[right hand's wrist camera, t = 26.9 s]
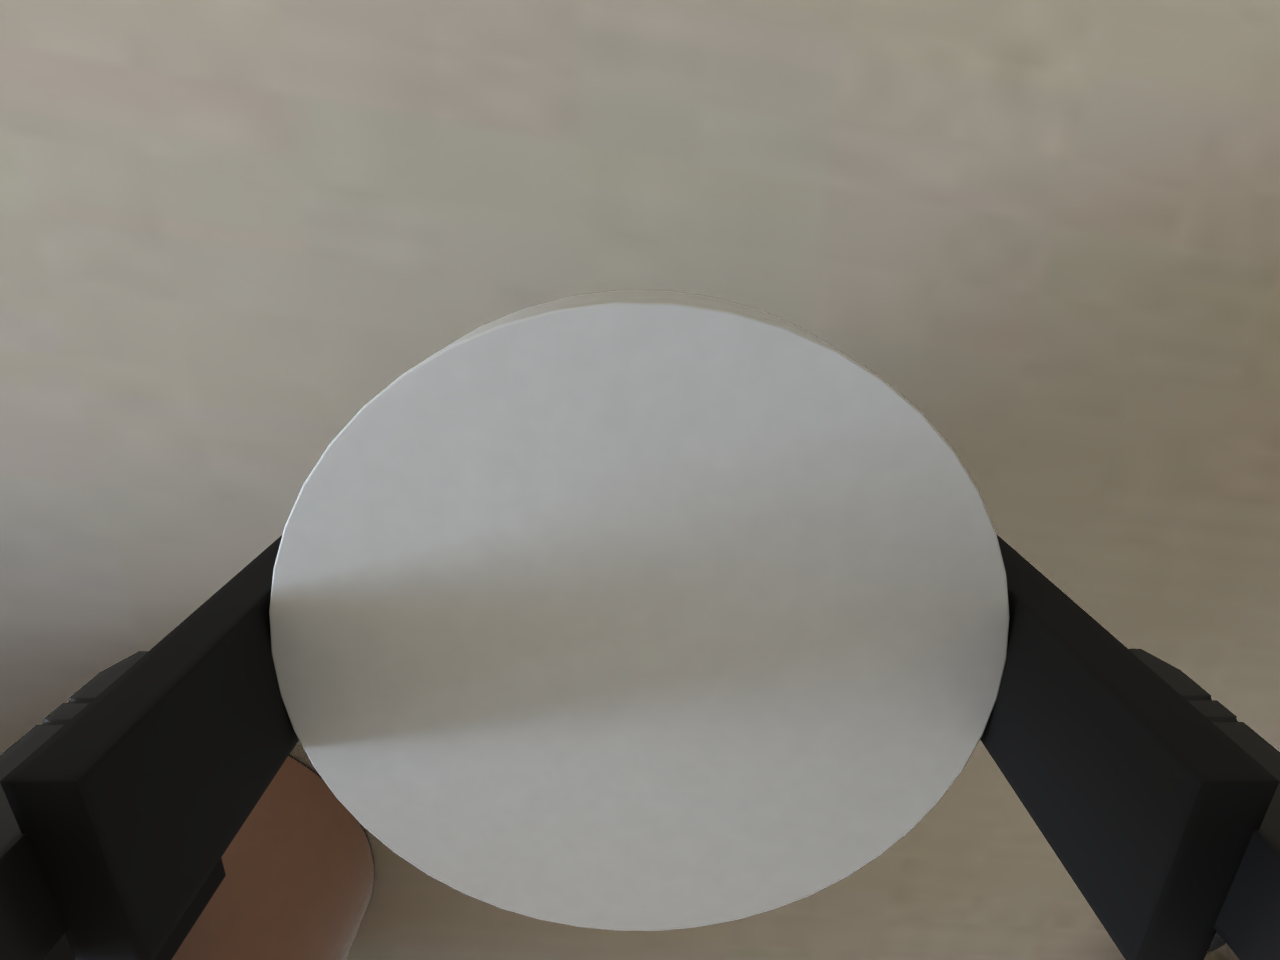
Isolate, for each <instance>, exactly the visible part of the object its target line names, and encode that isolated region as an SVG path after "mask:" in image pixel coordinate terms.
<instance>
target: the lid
mask: <svg viewBox="0 0 1280 960" xmlns="http://www.w3.org/2000/svg"><path fill="white" fill-rule="evenodd" d="M269 617H270V634H271V651H272V657H273V661H274V666H275V670H276V675H277V679H278V684H279V688H280V693H281V697H282V699H283V702H284V705H285V707H286V710H287V713H288V715H289V718H290V721H291V723H292V726H293V729H294V731H295V733H296V735H297V737H298V739H299V741H300V742H301V744H302V746H303V748H304V750H305V752H306V753H307V755H308V757H309V759H310V761H311V763H312V764H313V766H314V768H315V769H316V770H317V772H318V773H319V774H320V776H321V777H322V779H323V780H324V781H325V783H326V784H327V785H328V787H329V788H330V790H331V791H332V792H333V794H334V795H335V796H336V798H337V799H338V800H339V801H340V802H341V803H342V804H343V805H344V806H345V807H346V809H347V810H348V811H349V812H350V813H351V814H352V815H353V816H354V817H355V818H356V819H357V820H358V821H359V822H360V823H361V825H362V826H363V827H364V828H366V829H367V830H368V831H369V832H370V833H372V834H373V835H374V836H375V837H376V838H377V839H379V840H380V841H381V842H382V843H383V844H385V845H386V846H387V847H388V848H389V849H391V850H392V851H393V852H394V853H396V854H397V855H399V856H400V857H402V858H403V859H405V860H406V861H408V862H409V863H410V864H412V865H413V866H415V867H416V868H418V869H419V870H421V871H422V872H424V873H425V874H427V875H429V876H431V877H433V878H434V879H436V880H438V881H440V882H442V883H444V884H446V885H448V886H450V887H452V888H454V889H455V890H457V891H459V892H461V893H463V894H466V895H468V896H471V897H473V898H476V899H478V900H481V901H483V902H486V903H488V904H491V905H493V906H496V907H498V908H501V909H504V910H508V911H511V912H515V913H518V914H521V915H525V916H528V917H532V918H535V919H539V920H544V921H549V922H554V923H560V924H565V925H570V926H575V927H583V928H594V929H604V930H614V931H662V930H674V929H685V928H697V927H702V926H708V925H713V924H719V923H724V922H730V921H735V920H739V919H743V918H746V917H750V916H753V915H757V914H761V913H764V912H768V911H771V910H775V909H777V908H780V907H782V906H785V905H788V904H790V903H793V902H795V901H798V900H800V899H803V898H806V897H808V896H811V895H813V894H815V893H817V892H819V891H821V890H823V889H825V888H827V887H829V886H831V885H833V884H835V883H837V882H838V881H840V880H842V879H844V878H846V877H848V876H850V875H851V874H853V873H854V872H856V871H857V870H859V869H860V868H862V867H863V866H865V865H867V864H868V863H870V862H871V861H873V860H874V859H876V858H877V857H879V856H880V855H882V854H883V853H884V852H885V851H886V850H888V849H889V848H890V847H891V846H893V845H894V844H895V843H896V842H897V841H899V840H900V839H901V838H902V837H904V836H905V835H906V834H907V833H908V832H910V831H911V830H912V829H913V828H914V827H915V826H916V825H917V824H918V823H919V822H920V821H921V820H922V819H923V818H924V817H925V815H926V814H927V813H928V812H929V811H930V810H931V809H932V808H933V807H934V806H935V805H936V804H937V803H938V802H939V801H940V799H941V798H942V797H943V795H944V794H945V793H946V791H947V790H948V789H949V787H950V786H951V785H952V783H953V782H954V781H955V780H956V778H957V777H958V776H959V774H960V773H961V772H962V770H963V768H964V767H965V765H966V763H967V761H968V760H969V758H970V756H971V754H972V753H973V751H974V749H975V747H976V746H977V744H978V742H979V740H980V738H981V737H982V735H983V732H984V730H985V727H986V725H987V722H988V720H989V717H990V714H991V712H992V709H993V707H994V704H995V702H996V699H997V696H998V692H999V687H1000V683H1001V679H1002V675H1003V670H1004V666H1005V661H1006V656H1007V643H1008V631H1009V618H1010V617H1009V604H1008V591H1007V578H1006V571H1005V567H1004V563H1003V559H1002V555H1001V551H1000V546H999V542H998V538H997V534H996V530H995V528H994V526H993V523H992V521H991V519H990V516H989V514H988V511H987V509H986V507H985V504H984V502H983V499H982V497H981V495H980V492H979V490H978V488H977V487H976V485H975V483H974V482H973V480H972V478H971V477H970V475H969V474H968V472H967V470H966V469H965V467H964V466H963V464H962V462H961V461H960V459H959V458H958V456H957V454H956V453H955V451H954V449H953V448H952V447H951V446H950V445H949V444H948V442H947V441H946V440H945V439H944V438H943V437H942V435H941V434H940V433H939V432H938V431H937V430H936V428H935V427H934V426H933V425H932V424H931V423H930V421H929V420H928V419H927V418H926V417H925V416H924V415H923V413H922V412H921V411H920V410H919V409H917V408H916V407H915V406H914V405H913V404H912V403H910V402H909V401H908V400H907V399H906V398H905V397H903V396H902V395H901V394H900V393H899V392H898V391H896V390H895V389H894V388H893V387H892V386H891V385H889V384H888V383H887V382H886V381H885V380H884V379H882V378H881V377H879V376H878V375H876V374H875V373H873V372H872V371H870V370H868V369H867V368H865V367H864V366H862V365H861V364H859V363H857V362H856V361H854V360H853V359H851V358H850V357H848V356H846V355H845V354H843V353H842V352H840V351H839V350H837V349H835V348H834V347H832V346H831V345H829V344H827V343H826V342H824V341H823V340H821V339H819V338H818V337H816V336H815V335H813V334H811V333H810V332H808V331H807V330H805V329H802V328H800V327H798V326H796V325H793V324H791V323H789V322H787V321H784V320H782V319H780V318H778V317H775V316H773V315H771V314H769V313H767V312H764V311H761V310H758V309H755V308H751V307H748V306H744V305H741V304H737V303H734V302H730V301H727V300H723V299H720V298H716V297H710V296H703V295H696V294H689V293H682V292H675V291H669V290H613V291H605V292H598V293H590V294H582V295H574V296H568V297H564V298H560V299H556V300H553V301H549V302H545V303H542V304H538V305H534V306H530V307H527V308H523V309H520V310H518V311H516V312H513V313H511V314H508V315H506V316H504V317H501V318H499V319H497V320H494V321H492V322H490V323H487V324H485V325H483V326H480V327H478V328H476V329H475V330H473V331H471V332H470V333H468V334H466V335H465V336H463V337H461V338H460V339H458V340H456V341H455V342H453V343H451V344H450V345H448V346H446V347H445V348H443V349H441V350H440V351H438V352H436V353H435V354H433V355H432V356H430V357H429V358H427V359H425V360H424V361H422V362H421V363H419V364H418V365H416V366H414V367H413V368H411V369H410V370H408V371H407V372H405V373H403V374H402V375H401V376H400V377H398V378H397V379H396V380H395V381H394V382H392V383H391V384H390V385H389V386H388V387H386V388H385V389H384V390H383V391H381V392H380V393H379V394H378V395H377V396H375V397H374V398H373V399H372V400H371V401H369V402H368V403H367V404H366V405H364V406H363V407H362V408H361V409H360V410H359V412H358V413H357V414H356V415H355V416H354V417H353V418H352V419H351V421H350V422H349V423H348V424H347V425H346V426H345V427H344V428H343V429H342V431H341V432H340V433H339V434H338V435H337V436H336V437H335V438H334V439H333V441H332V442H331V443H330V444H329V445H328V447H327V448H326V450H325V452H324V453H323V455H322V456H321V458H320V459H319V461H318V462H317V464H316V465H315V467H314V468H313V470H312V472H311V473H310V475H309V476H308V478H307V479H306V481H305V482H304V484H303V486H302V488H301V490H300V493H299V495H298V497H297V499H296V502H295V504H294V506H293V508H292V511H291V513H290V515H289V517H288V520H287V522H286V524H285V527H284V531H283V535H282V538H281V542H280V546H279V550H278V553H277V557H276V561H275V565H274V569H273V579H272V589H271V599H270V609H269Z"/></svg>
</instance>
